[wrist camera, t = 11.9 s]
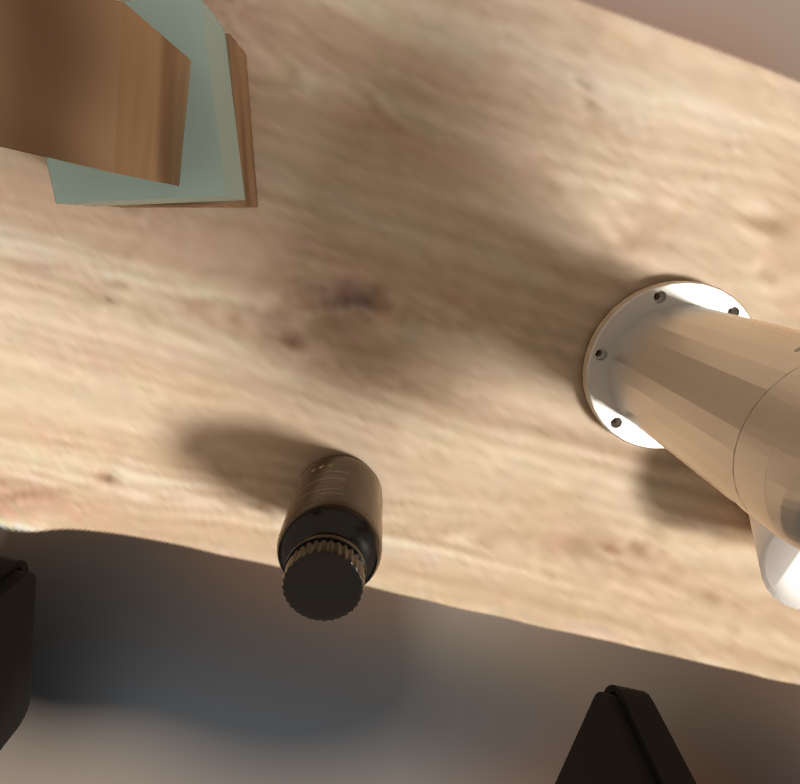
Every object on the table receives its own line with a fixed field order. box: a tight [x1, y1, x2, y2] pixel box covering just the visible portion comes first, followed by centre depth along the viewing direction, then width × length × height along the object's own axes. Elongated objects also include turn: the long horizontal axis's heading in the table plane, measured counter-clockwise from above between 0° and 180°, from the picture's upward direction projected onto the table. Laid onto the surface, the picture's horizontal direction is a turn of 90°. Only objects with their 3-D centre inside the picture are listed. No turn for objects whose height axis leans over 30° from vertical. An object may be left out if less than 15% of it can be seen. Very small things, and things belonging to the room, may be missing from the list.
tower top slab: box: [46, 0, 245, 206], centre depth 29 cm, size 9×9×4 cm
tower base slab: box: [112, 34, 258, 207], centre depth 32 cm, size 9×9×4 cm
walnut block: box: [0, 0, 191, 186], centre depth 23 cm, size 6×6×7 cm
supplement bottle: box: [277, 456, 382, 621], centre depth 36 cm, size 7×7×12 cm
